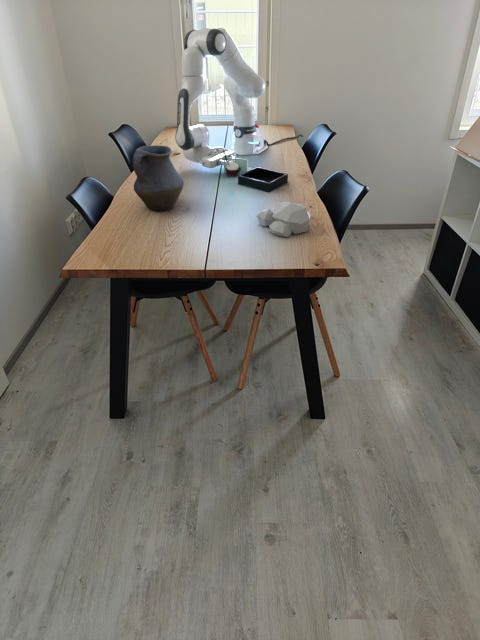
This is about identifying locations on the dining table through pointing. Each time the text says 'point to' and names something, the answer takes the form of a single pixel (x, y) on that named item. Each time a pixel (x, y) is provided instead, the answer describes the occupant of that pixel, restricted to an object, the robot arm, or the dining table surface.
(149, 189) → the pitcher
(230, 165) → the cocoa
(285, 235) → the rock
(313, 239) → the dining table surface
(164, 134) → the dining table surface
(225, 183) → the dining table surface
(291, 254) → the dining table surface
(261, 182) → the tray
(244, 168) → the pale cyan corner bracket
